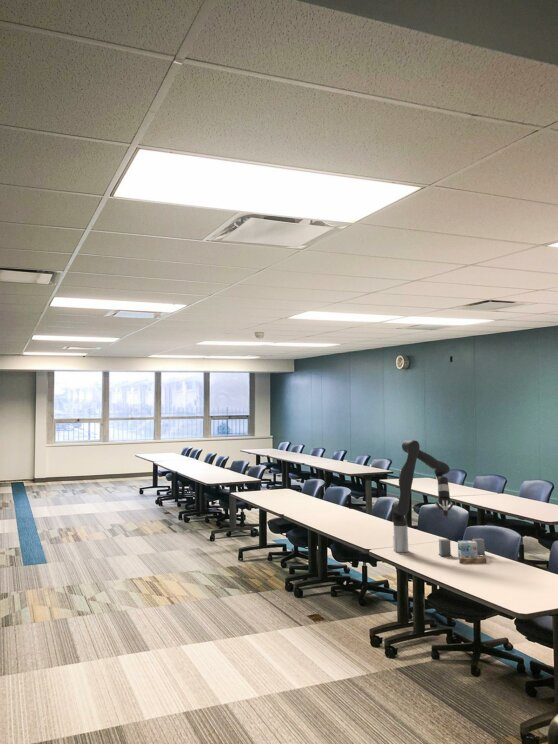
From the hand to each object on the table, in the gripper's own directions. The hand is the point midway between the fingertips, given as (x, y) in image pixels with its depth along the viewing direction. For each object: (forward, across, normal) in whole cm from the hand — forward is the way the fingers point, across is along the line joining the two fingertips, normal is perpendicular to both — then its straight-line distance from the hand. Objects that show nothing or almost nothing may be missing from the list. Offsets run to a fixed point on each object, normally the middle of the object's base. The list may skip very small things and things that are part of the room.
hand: (445, 516), depth 409 cm
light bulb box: (+31, +9, -12) cm, 34 cm away
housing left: (+27, -3, -3) cm, 27 cm away
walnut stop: (+36, +9, -22) cm, 43 cm away
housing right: (+25, +19, -3) cm, 32 cm away
